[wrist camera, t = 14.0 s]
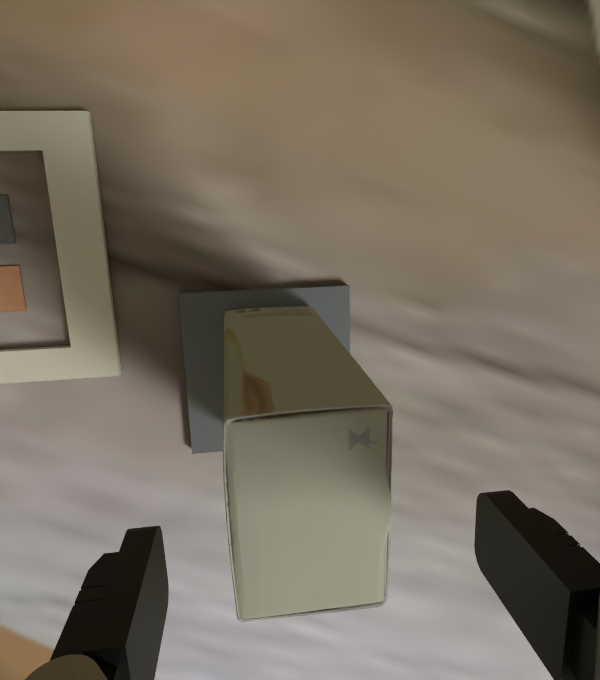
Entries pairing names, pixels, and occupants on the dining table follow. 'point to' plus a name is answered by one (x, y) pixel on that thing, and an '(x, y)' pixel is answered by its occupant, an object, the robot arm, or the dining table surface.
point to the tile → (208, 344)
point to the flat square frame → (63, 250)
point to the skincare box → (303, 468)
